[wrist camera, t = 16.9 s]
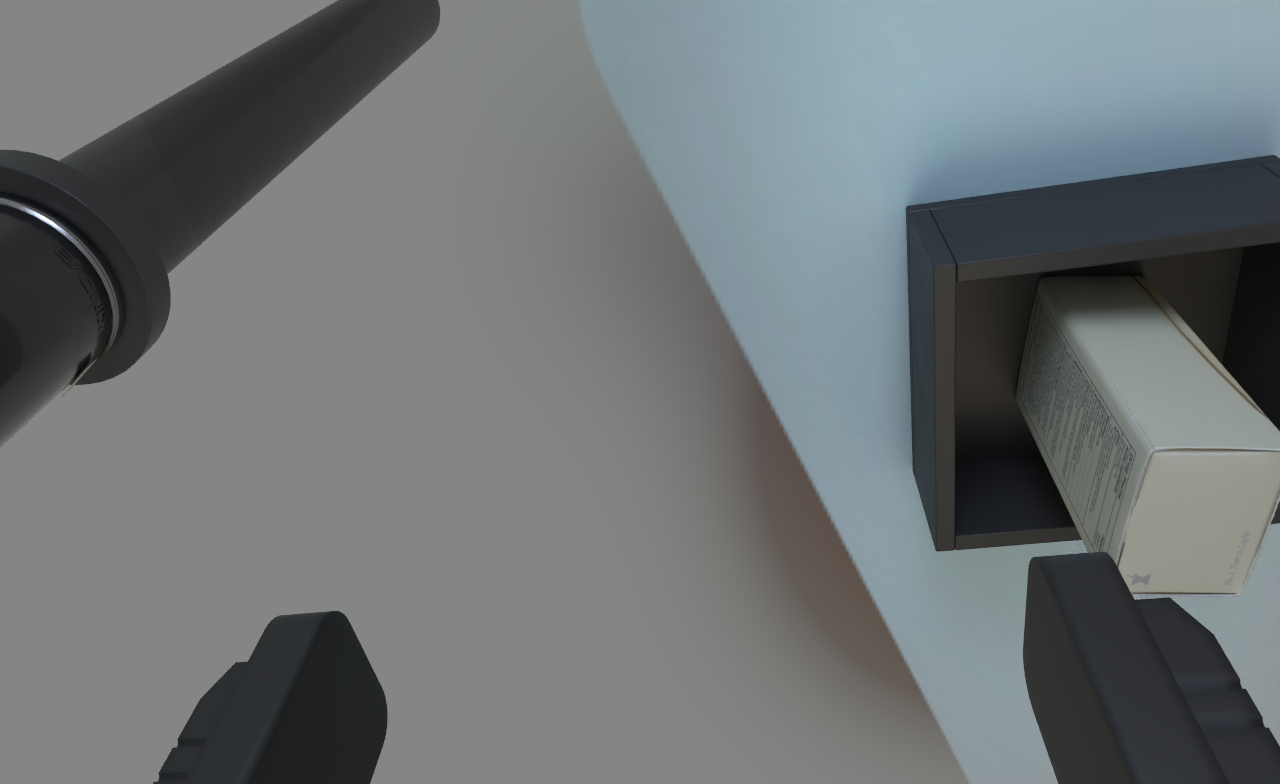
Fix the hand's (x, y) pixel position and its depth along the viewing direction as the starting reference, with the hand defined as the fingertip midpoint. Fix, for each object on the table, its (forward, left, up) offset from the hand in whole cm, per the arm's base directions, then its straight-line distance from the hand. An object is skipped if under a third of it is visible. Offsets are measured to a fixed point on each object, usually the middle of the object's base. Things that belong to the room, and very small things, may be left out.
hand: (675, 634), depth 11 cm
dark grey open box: (+14, -14, -28) cm, 34 cm away
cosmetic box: (+14, -14, -28) cm, 34 cm away
